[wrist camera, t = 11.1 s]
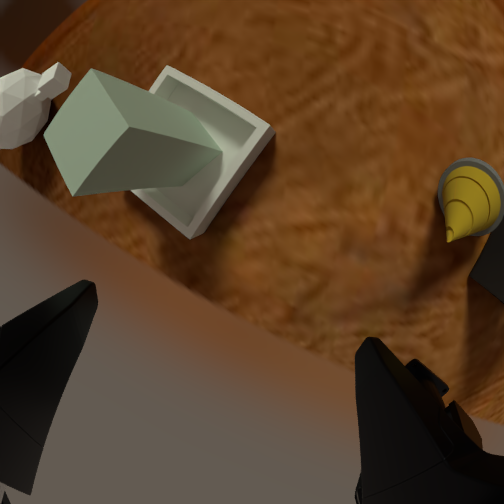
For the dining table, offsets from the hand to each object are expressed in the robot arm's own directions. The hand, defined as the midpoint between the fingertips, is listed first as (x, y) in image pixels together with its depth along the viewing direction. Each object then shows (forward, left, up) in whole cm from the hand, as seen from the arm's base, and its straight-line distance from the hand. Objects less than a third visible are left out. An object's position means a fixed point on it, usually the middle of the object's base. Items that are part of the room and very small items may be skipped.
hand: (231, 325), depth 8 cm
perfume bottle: (+29, +4, -13) cm, 32 cm away
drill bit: (-8, -10, -13) cm, 19 cm away
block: (+10, -1, -12) cm, 16 cm away
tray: (+10, -1, -13) cm, 16 cm away
